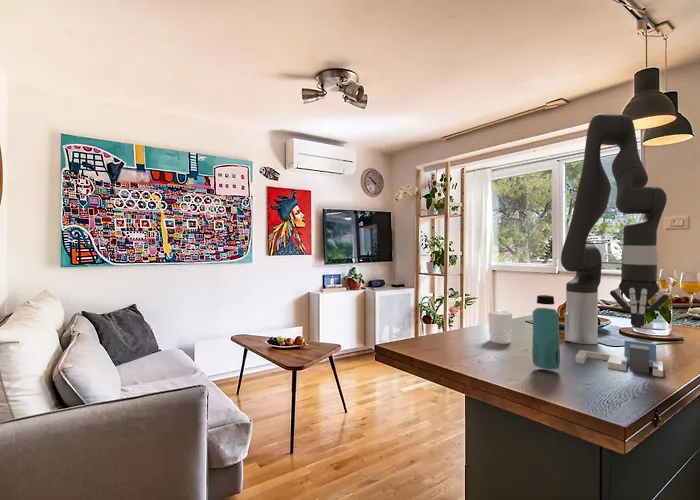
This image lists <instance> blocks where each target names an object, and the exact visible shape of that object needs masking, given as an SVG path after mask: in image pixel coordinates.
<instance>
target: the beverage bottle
mask: <svg viewBox="0 0 700 500" xmlns="http://www.w3.org/2000/svg"><path fill="white" fill-rule="evenodd" d="M536 304H538V305H548V306H549V305H551V306H552V305H555V297H554V296H553V295H547V294H540V295H537V297H536ZM560 334H561V333H560V313H559V312H558V310H556V309H555V308H553V307H546V306H544V307H543V306H542V307H540V306H539V307H536V308H535V309H534V310H533V311H532V337H531V338H532V347H531V348H532V352H531V353H532V354H531V355H532V364H533V365H534V366H535V367H538V368H540V369H545V370H557V369H559V368H560V365H561V360H560V358H561V355H560V353H561V349H560V346H561V343H560Z"/></svg>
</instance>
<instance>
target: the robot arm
mask: <svg viewBox="0 0 700 500" xmlns="http://www.w3.org/2000/svg"><path fill="white" fill-rule="evenodd" d="M635 129H636V128H635V124H634V121H633V119H632V117H630V116H629V115H626V114H616V113H615V114H609V113H597V114H595V115H594V116H593V117H591V119H590V122H589V124H588V127H587V132H586V137H585V146H584V147H585V148H584V153H583V154H584V156H583V162H582V168H581V173H580V177H579V181H578V186H577V189H576V190H577V191H576V194H575V195H576V196H575V201H574V206H573V211H572V215H571V220H570V223H569V227H568V232H567V233H566V237H565V240H564V244H563V246H562V250H561V255H560V262H561V263H560V264H561V266H562V267H563V269H565V270H566V271H567V272H570V273H571V272H572V273H573V272H575V273H576V274H575V276H574V277H573V278H572V279H571V280H569V281H568V282H566V285H565V313H564V341H566V342H570V343H574V344H581V345H596V344H598V339H599V338H598V337H599V334H598V327H599V324H598V323H599V322H598V319H599V318H598V317H599V316H598V314H599V312H598V311H599V310H598V309H599V305H598V300H599V299H598V296H599V292H598V290H599V286H600V284H601V278H602V265H603V264H602V262H603V261H602V254H601V252H600V249H599V248H598V247H597V246H595V245H593V244H587V241H588V238H589V235H590V233H591V230H592V229H593V228H594V226H595V225H596V224H597V223H598V222H599V220H600V219H601V218H602V216H603V215H604V213H605V212H606V209H607V207H608V204H609V200H610V196H611V192H612V187H611V181H610V179H609V177H608V175H607V173H606V171H605V168H604V167H603V166H604V165H602V160H601V147H602V145H603V146H617V147H618V148H619V151H618V153H617V154H616V155H615V158H614V159H613V161H612V163H611V171H612V175H613V178H614V181H615V183H616V199H615V206H616V208H617V210H618V211H619V212H620V213H622V214H625V215H643V218H642V219H641V221H637V222H632V223H627V224H625V225H624V227H623V232H622V233H623V235H622V236H623V237H622V238H623V239H622V240H623V241H622V242H623V243H622V244H623V245H622V252H621V270H620V271H621V277H620V279H621V281H620V283H619V284H618V287H616V288H614V289H612V290H611V291H609V295H610V296H611V297H612V298H613V299H614V301H616V302H617V304H618V305H619V306H620V307H621V308H622V309H623V310H624V311H627V312H629V313H630V324H631V326H633V328H638V329H642V327H644V326H645V315H646V314H651V313H653V312H655V311H656V310H657V309H659V308H660V306H662V305H663V304H665V302H666V301H667V300H669V297H670V295H668V293H665V292H664V291H662V290H661V289H660V287H659V284H658V262H659V258H658V249H657V248H658V247H657V240H658V238H657V237H658V236H657V235H658V228H659V224H660V222H661V218H662V216H663V213H664V210H665V208H666V205H667V200H668V199H667V198H668V197H667V194H666V192H665V190H664V189H663V188H661V187H658V186H646V185H647V183H648V182H649V176H648V173H647V172H646V169H645V167H644V165H643V163H642V160H641V157H640V155H639V148H638V141H637V140H638V139H637V135H636V130H635ZM621 292H622V293H621ZM622 294H624V296H625V297H626V298H627V299H628V300H629V303H630V304H629V305H628V303H626V301H625V300H624V298H622V297H621V296H622ZM655 295H656V297H655V298H656V299H655V301H654V302H653V303H652V304H650V306H648V307H646V304H647V301H650V300H651V299H652V298H653V297H654V296H655ZM637 301H639V309H638V305H637V304H638V303H637Z"/></svg>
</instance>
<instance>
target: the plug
mask: <svg viewBox="0 0 700 500" xmlns="http://www.w3.org/2000/svg"><path fill="white" fill-rule="evenodd" d="M629 370H630V371H635V372H641V373H645V374H646V373H648V374H650V367H649V347H648V346H640V345H632V344H630V364H629Z"/></svg>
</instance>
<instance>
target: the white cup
mask: <svg viewBox="0 0 700 500" xmlns="http://www.w3.org/2000/svg"><path fill="white" fill-rule="evenodd" d="M487 320H488V321H487V322H488V334H489V341H490V342H491V343H494V344H499V345H500V344H501V345H502V344H503V345H507V344H510V343H512V340H511V339H512V332H513V331H512V329H513V312H512V311H511V312H510V311H505V310H488V312H487Z"/></svg>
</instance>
